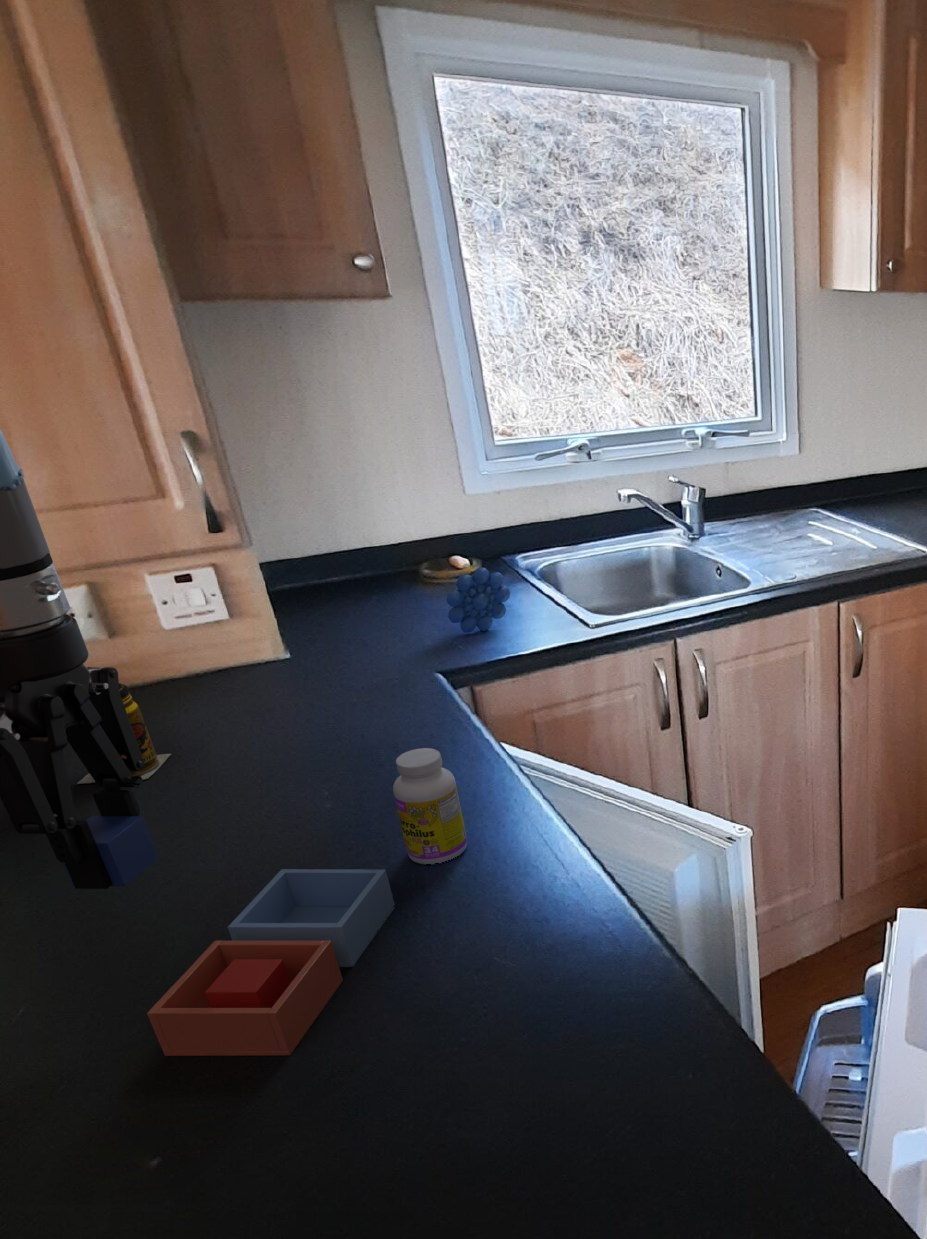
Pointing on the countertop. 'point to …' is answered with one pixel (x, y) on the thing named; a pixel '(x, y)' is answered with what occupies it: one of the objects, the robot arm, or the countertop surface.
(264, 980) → the red block
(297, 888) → the blue bin
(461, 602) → the blue sphere cluster
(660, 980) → the countertop surface
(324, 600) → the countertop surface
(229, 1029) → the red bin
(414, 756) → the supplement bottle
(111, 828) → the blue block
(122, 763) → the robot arm
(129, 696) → the condiment
